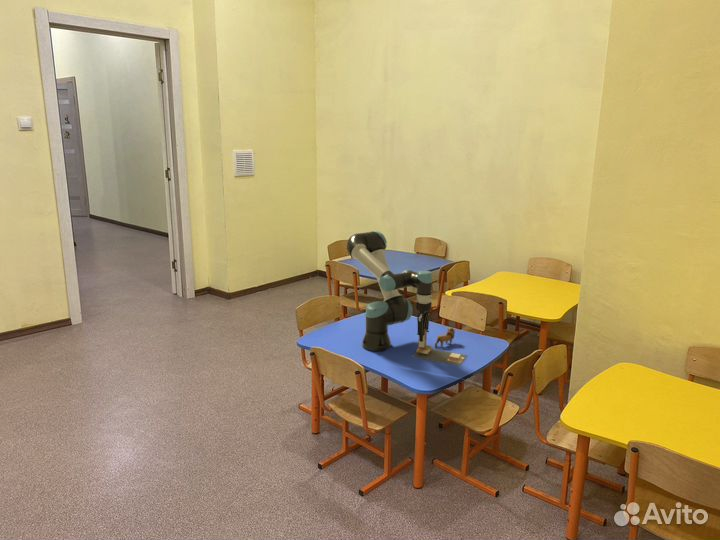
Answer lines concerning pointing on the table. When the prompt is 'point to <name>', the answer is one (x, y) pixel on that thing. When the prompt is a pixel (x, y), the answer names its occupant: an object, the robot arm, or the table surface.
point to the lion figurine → (446, 337)
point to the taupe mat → (440, 357)
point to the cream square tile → (455, 357)
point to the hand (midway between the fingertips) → (422, 345)
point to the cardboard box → (426, 348)
